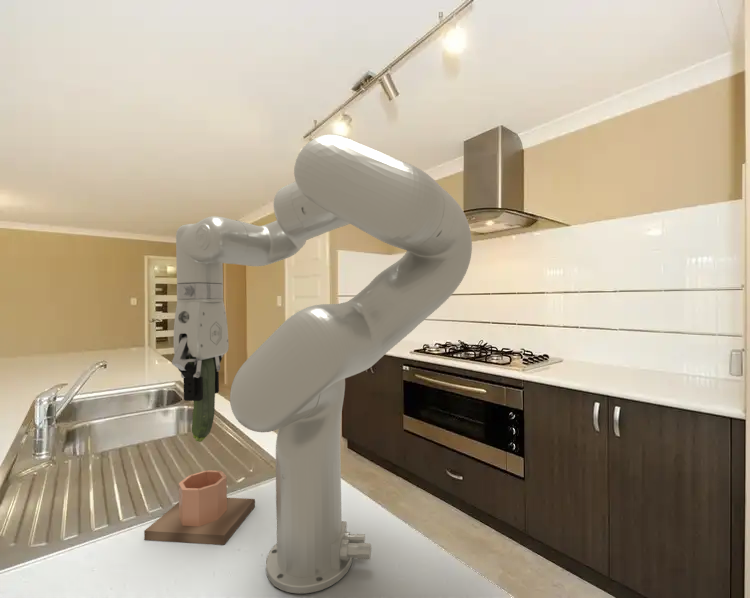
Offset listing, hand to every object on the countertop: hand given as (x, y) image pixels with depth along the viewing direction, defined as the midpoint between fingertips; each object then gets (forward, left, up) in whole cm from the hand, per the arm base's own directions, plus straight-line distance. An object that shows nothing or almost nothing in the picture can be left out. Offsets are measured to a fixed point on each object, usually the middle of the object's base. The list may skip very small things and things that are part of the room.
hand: (202, 395), depth 65 cm
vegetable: (0, 0, -9) cm, 9 cm away
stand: (0, 0, -23) cm, 23 cm away
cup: (0, 0, -21) cm, 21 cm away
